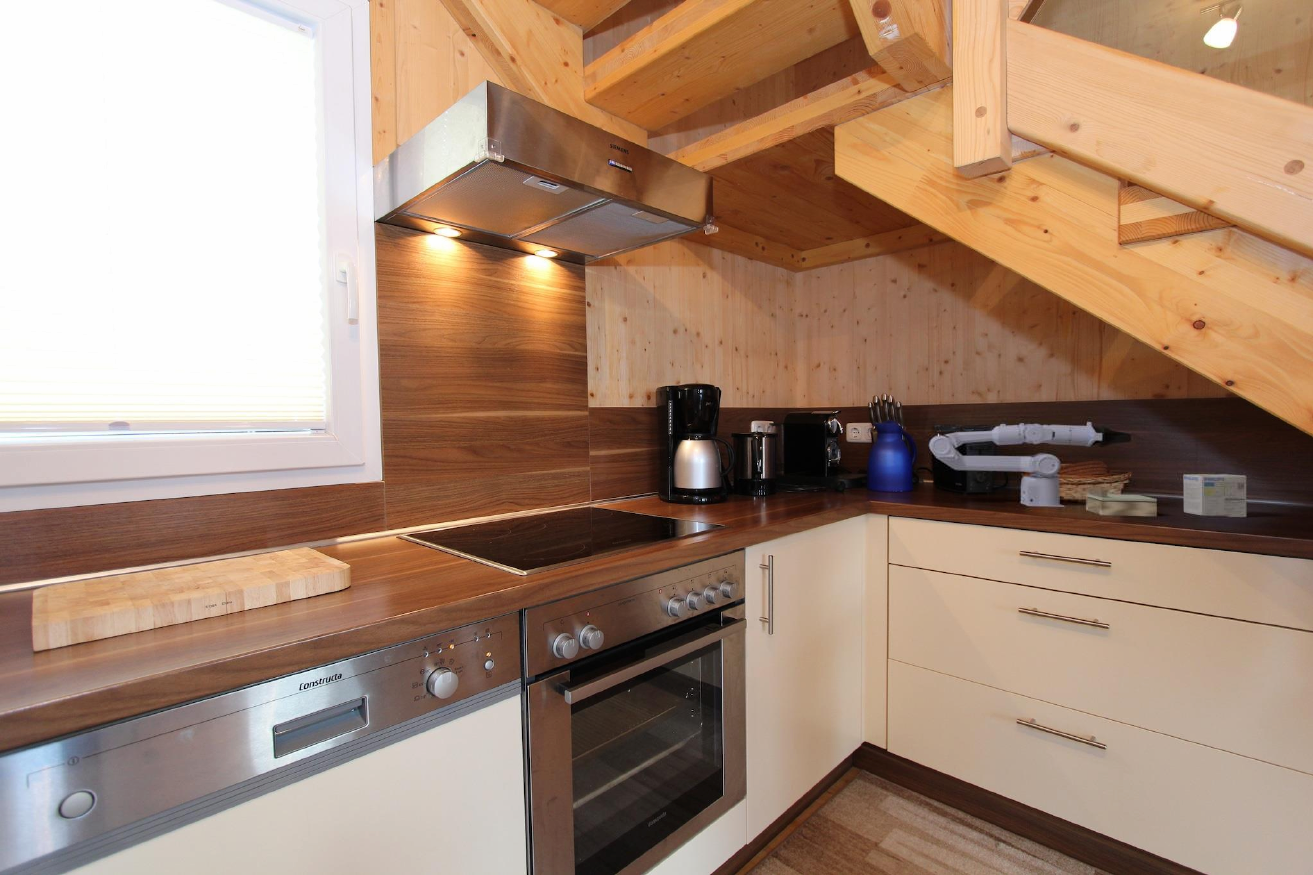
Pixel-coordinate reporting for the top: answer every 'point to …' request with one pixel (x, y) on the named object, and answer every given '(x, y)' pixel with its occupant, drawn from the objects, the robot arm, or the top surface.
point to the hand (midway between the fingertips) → (1126, 437)
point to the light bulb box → (1215, 494)
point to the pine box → (1121, 507)
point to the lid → (1115, 496)
